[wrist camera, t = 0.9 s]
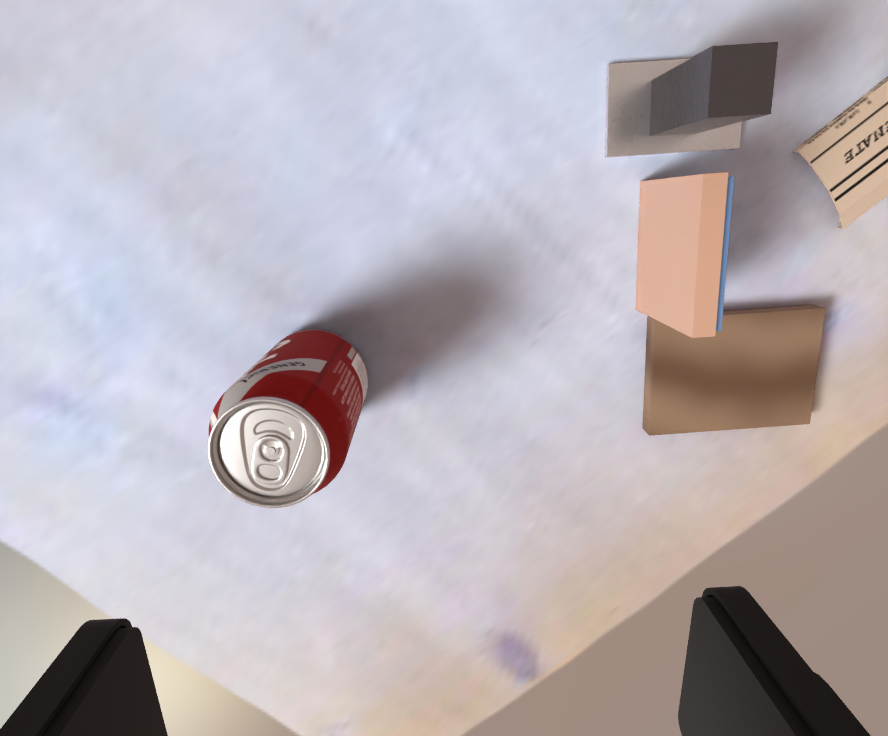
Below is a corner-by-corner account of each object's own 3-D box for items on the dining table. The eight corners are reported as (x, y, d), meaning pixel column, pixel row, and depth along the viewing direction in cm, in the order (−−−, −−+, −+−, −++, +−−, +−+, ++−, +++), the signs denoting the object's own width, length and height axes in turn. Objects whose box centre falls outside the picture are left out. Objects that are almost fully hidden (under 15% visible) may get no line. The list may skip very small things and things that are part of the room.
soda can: (376, 336, 36) (352, 398, 24) (361, 430, 38) (332, 529, 26) (272, 318, 35) (197, 373, 24) (263, 414, 37) (189, 508, 25)
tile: (640, 181, 33) (703, 173, 26) (665, 179, 33) (736, 171, 26) (635, 309, 36) (692, 337, 28) (659, 307, 36) (722, 335, 28)
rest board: (647, 316, 36) (654, 320, 35) (812, 304, 36) (825, 308, 35) (642, 428, 38) (649, 435, 37) (798, 417, 38) (809, 423, 37)
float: (606, 65, 32) (658, 25, 24) (742, 56, 32) (835, 13, 24) (604, 157, 33) (653, 144, 26) (735, 148, 33) (820, 133, 26)
